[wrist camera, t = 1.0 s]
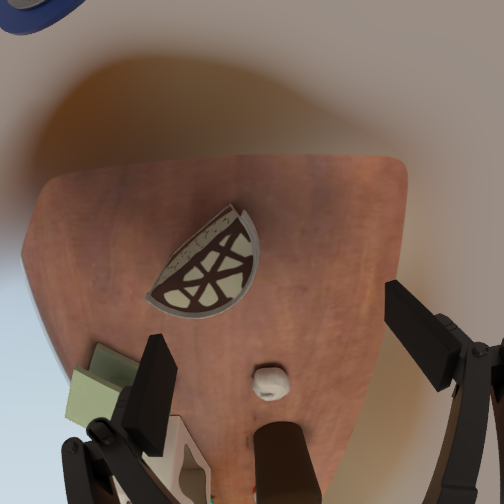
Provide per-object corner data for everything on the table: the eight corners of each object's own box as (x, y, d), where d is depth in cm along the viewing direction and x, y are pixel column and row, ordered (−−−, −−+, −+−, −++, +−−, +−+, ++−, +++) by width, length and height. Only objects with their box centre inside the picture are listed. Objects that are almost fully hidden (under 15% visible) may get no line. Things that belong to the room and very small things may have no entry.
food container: (197, 296, 37) (189, 345, 27) (163, 261, 35) (141, 303, 25) (275, 234, 35) (291, 268, 25) (241, 194, 33) (245, 214, 23)
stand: (79, 385, 42) (64, 417, 34) (93, 334, 38) (73, 369, 30) (149, 418, 45) (142, 452, 37) (177, 374, 41) (170, 414, 34)
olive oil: (270, 414, 46) (291, 543, 22) (316, 425, 48) (347, 537, 25) (239, 441, 48) (247, 555, 25) (283, 451, 51) (302, 553, 28)
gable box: (114, 414, 44) (80, 541, 18) (179, 413, 45) (164, 560, 18) (157, 469, 52) (146, 568, 26) (211, 468, 52) (212, 574, 26)
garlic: (243, 379, 42) (244, 404, 37) (260, 355, 41) (264, 380, 36) (276, 389, 44) (280, 413, 39) (295, 367, 42) (301, 391, 37)
